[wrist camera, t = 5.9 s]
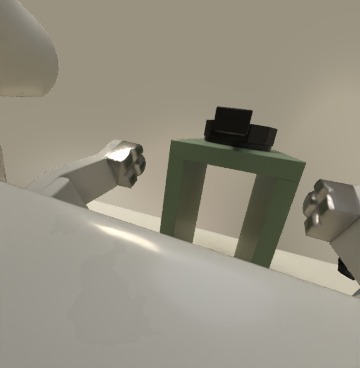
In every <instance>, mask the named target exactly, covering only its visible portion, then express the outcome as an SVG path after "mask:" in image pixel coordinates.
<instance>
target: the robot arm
mask: <svg viewBox="0 0 360 368" xmlns="http://www.w3.org/2000/svg"><path fill="white" fill-rule="evenodd" d="M57 75H58V60H57V55H56V52H55V49H54V46H53V44H52V42H51V40H50V38H49V36H48V34H47V33H46V31H45V30H44V28H43V27H42V25H41V24H40V23H39V22H38V21H37V19H36V18H35V17H34V16H33V15H32V14H31V13H30V12H29V11H28V10H27V9H26V8H25V7H24V6H23V5H22V4H21V3H20V1H19V0H0V96H9V97H42V96H44V95H45V94H46V93H48V92H49V91H50V89H51V88H52V87H53V85H54V83H55V81H56V78H57ZM142 153H143V148H142V146H141V145H140V144H136V143H131V142H126V141H121V140H113V141H111V142H110V143H109V144H108V145H107V146H106V147H104V148H103V149H102V150H101V151H100V152H99V153H98V154H97V155H95V156H93V155H92V156H89V157H86V158H84V159H81V160H78V161H75V162H72V163H69V164H67V165H63V166H61V167H58V168H55V169H52V170H49V171H46V172H45V173H43V174H42V175H41V176H40V177H38V178H37V179H36V180H34V181H33V182H32V183H30V184H29V185H28V186H27V187H25V188H22V187H18V186H16V185H12V184H9V183H7V182H6V175H5V168H4V162H3V154H2V149H1V146H0V368H360V295H357V296H351V295H348V294H344V293H341V292H338V291H335V290H332V289H329V288H326V287H323V286H320V285H317V284H314V283H311V282H308V281H305V280H302V279H299V278H296V277H293V276H290V275H287V274H284V273H281V272H277V271H274V270H271V269H268V268H265V267H262V266H259V265H256V264H253V263H250V262H247V261H244V260H241V259H238V258H235V257H232V256H229V255H226V254H223V253H220V252H217V251H213V250H210V249H207V248H204V247H201V246H198V245H195V244H192V243H189V242H186V241H183V240H180V239H177V238H174V237H171V236H168V235H165V234H162V233H158V232H155V231H152V230H149V229H146V228H143V227H140V226H137V225H134V224H131V223H128V222H125V221H122V220H119V219H116V218H113V217H110V216H107V215H104V214H101V213H98V212H95V211H91V210H89V209H88V207H87V206H86V204H87V203H89V202H91V201H92V200H94V199H96V198H98V197H99V196H101V195H103V194H104V193H106V192H108V191H109V190H111V189H113V188H115V187H116V186H117V185H119V186H123V187H128V188H131V187H132V186H133V185H134V184H135V182H136V181H137V176H139V175H141V174H142V173H143V171H144V169H145V165H146V162H145V158H144V157H143V155H142ZM314 190H315V191H312V192H310V193H308V195H307V196H306V198H305V200H304V203H303V214H304V215H305V216H306V217H307V219H306V220H305V222H304V225H305V233H306V236H309V237H313V238H316V239H320V240H323V241H326V242H330V243H329V244H330V245H331V246H332V248H333V249H334V251H335V252H336V253H337V255H338V256H339V257H340V259H341V260H342V262H343V263H344V264H345V266H346V267H347V269H348V270H349V271H350V273H351V274H352V275H353V277H354V278H355V280H356V281H357V282H358V284H359V285H360V186H357V185H351V184H350V185H349V184H344V183H338V182H333V181H328V180H322V179H320V180H318V181H317V182H316V184H315V185H314Z"/></svg>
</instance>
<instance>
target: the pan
mask: <svg viewBox="0 0 360 368" xmlns="http://www.w3.org/2000/svg"><path fill="white" fill-rule="evenodd" d="M252 112H253V111H252V110H246V109H236V108H227V107H217V108H216V114H215V120H207V121H206V127H205V132H204V136H205V138H204V141H206V142H210V143H215V144H220V145H225V146H231V147H237V148H244V149H250V150H258V151H270V150H271V147H272V146H273V144H274V140H275V136H276V133H277V129H275V128H271V127H266V126H260V125H254V124H250V120H251V116H252Z"/></svg>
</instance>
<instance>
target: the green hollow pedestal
mask: <svg viewBox="0 0 360 368" xmlns="http://www.w3.org/2000/svg"><path fill="white" fill-rule="evenodd" d="M207 164H209V165H214V166H220V167H224V168H229V169H235V170H240V171H245V172H250V173H255V174H257V175H256V179H255V183H254V186H253V189H252V193H251V197H250V200H249V204H248V208H247V211H246V215H245V218H244V222H243V226H242V229H241V233H240V237H239V240H238V244H237V248H236V251H235V255H234V257H235V258H238V259H241V260H244V261H247V262H250V263H253V264H256V265H259V266H262V267H265V268H268V269H269V267H270V264H271V261H272V258H273V255H274V253H275V250H276V247H277V244H278V241H279V238H280V235H281V233H282V230H283V227H284V224H285V221H286V218H287V216H288V213H289V210H290V207H291V204H292V201H293V199H294V196H295V193H296V190H297V187H298V184H299V182H300V179H301V176H302V173H303V170H304V168H305V165H306V162H303V161H301V160H298V159H296V158H293V157H291V156H288V155H286V154H283V153H281V152H278V151H276V150H270V151H258V150H250V149H244V148H237V147H231V146H225V145H220V144H215V143H210V142H206V141H204V139H178V140H171V145H170V153H169V162H168V170H167V178H166V186H165V194H164V203H163V211H162V218H161V226H160V233H162V234H165V235H168V236H171V237H174V238H177V239H180V240H183V241H186V242H189V243H192V242H193V237H194V232H195V226H196V221H197V216H198V210H199V205H200V200H201V195H202V189H203V184H204V178H205V172H206V168H207Z"/></svg>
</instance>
